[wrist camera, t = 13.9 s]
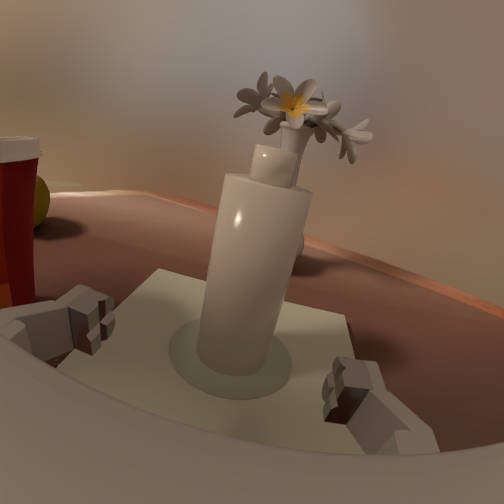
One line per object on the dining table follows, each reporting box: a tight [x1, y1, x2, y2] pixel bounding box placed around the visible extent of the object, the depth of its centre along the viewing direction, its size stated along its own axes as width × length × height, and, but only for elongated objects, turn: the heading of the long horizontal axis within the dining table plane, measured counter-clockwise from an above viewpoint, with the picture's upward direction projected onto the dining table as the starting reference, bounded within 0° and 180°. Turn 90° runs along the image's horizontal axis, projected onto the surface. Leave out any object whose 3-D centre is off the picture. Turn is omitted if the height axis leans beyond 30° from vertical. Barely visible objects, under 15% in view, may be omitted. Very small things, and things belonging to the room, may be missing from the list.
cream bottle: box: [196, 144, 313, 376], centre depth 18 cm, size 5×5×14 cm
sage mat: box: [55, 269, 366, 455], centre depth 21 cm, size 20×20×1 cm
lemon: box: [34, 175, 50, 228], centre depth 33 cm, size 11×8×8 cm
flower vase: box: [234, 72, 373, 258], centre depth 38 cm, size 13×18×25 cm
